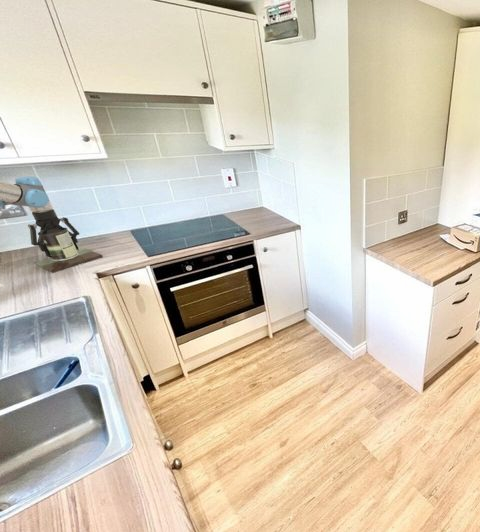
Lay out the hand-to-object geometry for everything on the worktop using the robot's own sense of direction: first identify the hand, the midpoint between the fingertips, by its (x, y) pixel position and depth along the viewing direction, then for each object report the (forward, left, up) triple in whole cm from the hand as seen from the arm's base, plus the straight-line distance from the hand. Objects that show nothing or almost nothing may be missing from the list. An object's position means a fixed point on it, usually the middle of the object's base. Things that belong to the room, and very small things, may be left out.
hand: (63, 252), depth 162 cm
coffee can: (0, 0, -2) cm, 2 cm away
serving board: (0, -4, -4) cm, 6 cm away
